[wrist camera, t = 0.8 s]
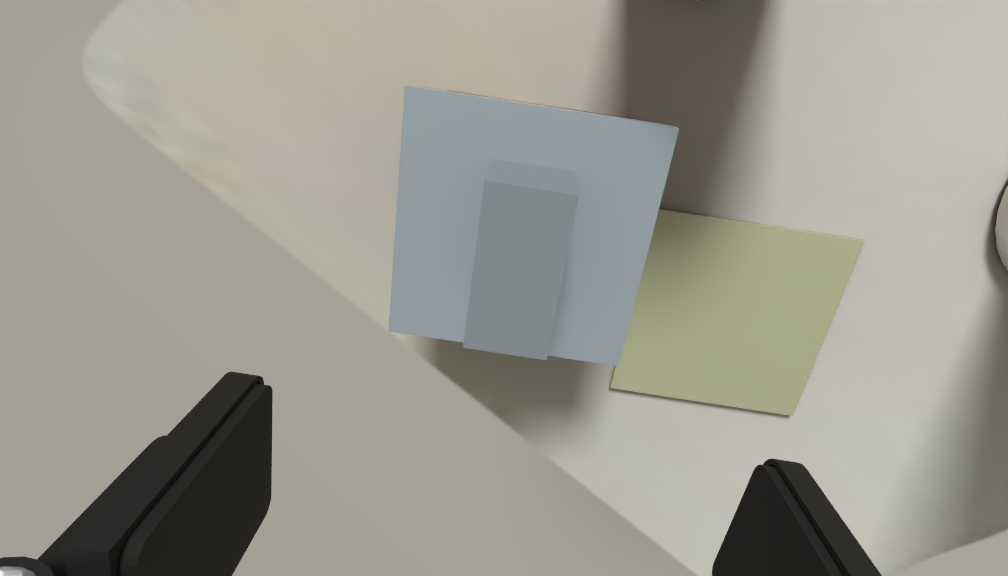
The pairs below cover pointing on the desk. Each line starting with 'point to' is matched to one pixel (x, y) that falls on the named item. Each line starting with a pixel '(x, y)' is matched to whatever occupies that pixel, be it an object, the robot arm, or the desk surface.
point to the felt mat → (732, 311)
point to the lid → (523, 224)
